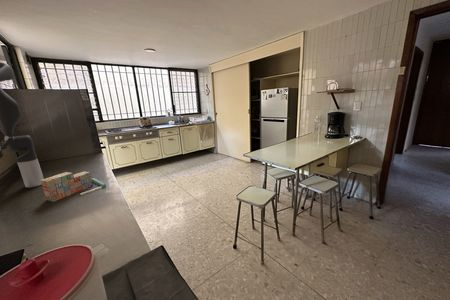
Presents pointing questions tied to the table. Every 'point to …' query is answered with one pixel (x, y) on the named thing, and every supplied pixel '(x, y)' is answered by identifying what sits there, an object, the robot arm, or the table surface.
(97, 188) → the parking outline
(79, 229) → the table surface
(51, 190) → the stack of blocks
